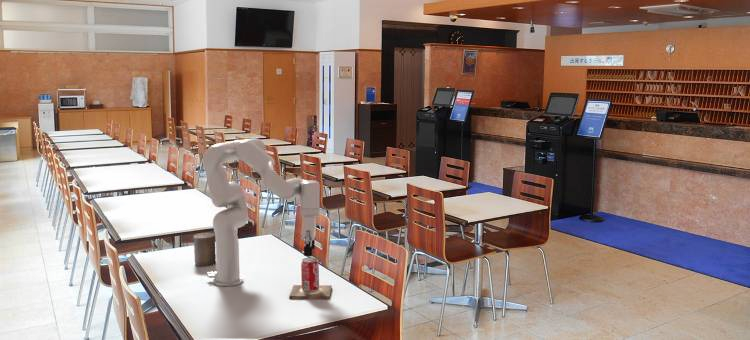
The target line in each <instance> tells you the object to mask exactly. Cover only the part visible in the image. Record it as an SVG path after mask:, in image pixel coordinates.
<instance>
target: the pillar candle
mask: <svg viewBox="0 0 750 340" xmlns="http://www.w3.org/2000/svg"><path fill="white" fill-rule="evenodd" d="M193 248H194V263H195V264H194V265H195V266H196V265H197V266H196V267H211V266H214V265H215V264H217V262H216V239H215V233H211V232H201V233H196V234H194V235H193ZM213 264H214V265H213ZM210 265H211V266H210Z"/></svg>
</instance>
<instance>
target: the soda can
mask: <svg viewBox="0 0 750 340" xmlns="http://www.w3.org/2000/svg"><path fill="white" fill-rule="evenodd" d="M301 261H302V262H301V265H300V266H301V267H300V270H301V273H300V274H301V277H300V278H301V285H302V290H303V291H304V292H309V293H311V292H316V291H317V290H318V289H319V285H320V269H319V268H320V267H319V261H318V258H317V257H304V258H302V259H301Z"/></svg>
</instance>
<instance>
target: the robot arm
mask: <svg viewBox="0 0 750 340" xmlns="http://www.w3.org/2000/svg"><path fill="white" fill-rule="evenodd" d="M235 161H242V162H243V163H245V164H246V165H247V166H248V167H250V168H251V169H253V170H254V171H255V172H256V173H257V174H258V175H260V177H261V180H262V182H263V184H264V185H265V187H266V188H267V189H268V190H269V191H270V192H271V193H273V194H274V195H275V196H277V198H279V199H281V200H284V201H287V200H288V201H289V200H291V199H293V198H297V197H300V216H301V217H302V221H301V241H304V245H303V256H304V257H313V250H315V247H316V246H315V245H316V244H315V242H316V241H315V238H316V231H317V217H318V216H320V195H321V194H320V190H321V189H320V188H321V185H320V182H318V181H317V180H313V179H312V180H310V179H308V180H307V179H303V178H300V177H293V178H290V179H287V180H286V179H284V178H283V177H281V176H280V175H279V174H278V173H277V171H276V170H275V168H274V166H275V162H276V161H275V159H274V158H273V157H272V156H271V155H269V154H268V153H267V152H266V145H265V143H264V142H263V141H262V140H261V139H259V138H257V137H255V138H248V139H239V140H232V141H227V142H220V143H216V144H213V145H211V146H210V147H208V148H207V149H206V150H205V151H204V153H203V156H202V167H203V169H204V174H205V176H206V180H207V186H208V191H209V195H210V200H211V203H212V204H213V206H215V207H216V208H225V207H227V208H226V209H223V210H221V211H219V212H217V213H216V214H215V216H214V217H213V219H212V227H213V231H214V235H215V254H216V271H214V272H213V271H207V272H206V277H208V278H209V279H212V278H213V281H212V283H213V285H216V286H220V287H231V286H233V287H234V286H237V285H240V284H242V283H243V282H244V277H243V276H242V275H240V273H241V272H240V247H239V245H240V242H239V237H238V234H237V232H236V231H237V229H239V228H240V229H241V228H243V227H244V226H246V224H247V223H248V221H249V211H248V207H247V205H248V204H247V201H246V197H245V192H244V190H243V188H242V186H241V185H240V184H239V183H238V182H235V181H229V178H228V177H229V176H228V173H227V171H226V169H225V168H224V166H223V164H226V163H231V162H235Z"/></svg>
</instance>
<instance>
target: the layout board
mask: <svg viewBox="0 0 750 340" xmlns="http://www.w3.org/2000/svg"><path fill="white" fill-rule="evenodd" d="M332 286H333V285H331V284H330V285H324V284H323V285H322V284H321V285H320V284H319V289H318V290H317V291H316V292H311V293H309V292H304V291H303V290H302V284H301V285H300V284H293V286H292V288H291V290H290V293H289V296H288V299H289V300H329V299H330V297H331V292H332Z"/></svg>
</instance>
